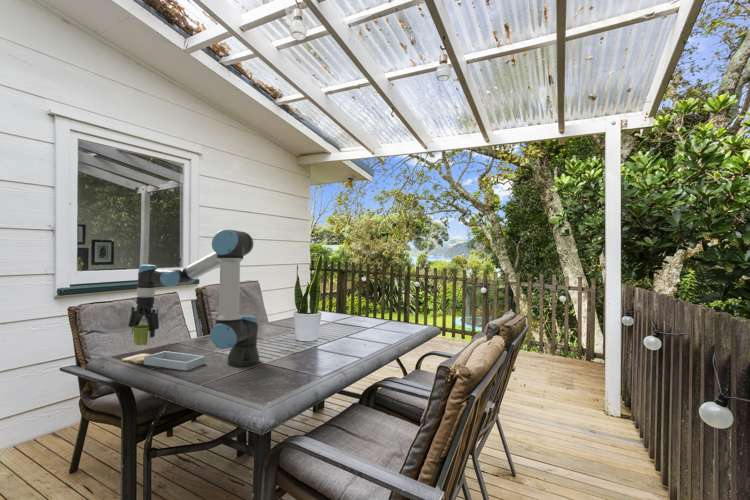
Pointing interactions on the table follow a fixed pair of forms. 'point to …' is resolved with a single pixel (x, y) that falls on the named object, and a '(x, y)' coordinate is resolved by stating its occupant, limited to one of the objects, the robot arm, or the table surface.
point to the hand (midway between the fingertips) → (142, 342)
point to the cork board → (136, 358)
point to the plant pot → (141, 334)
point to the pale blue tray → (163, 361)
